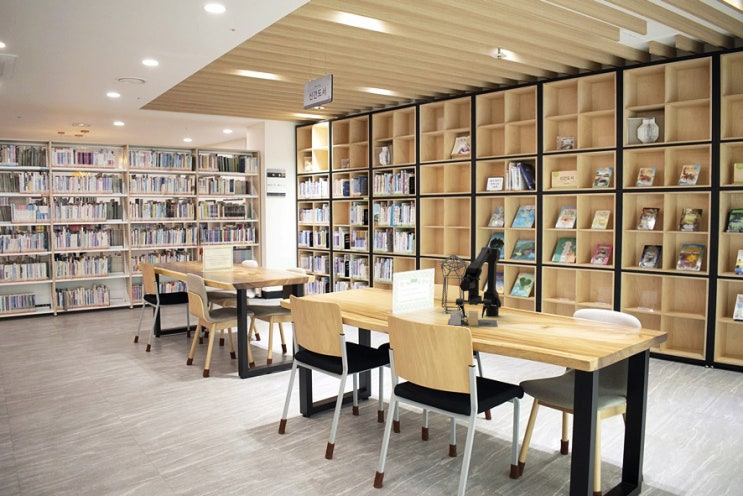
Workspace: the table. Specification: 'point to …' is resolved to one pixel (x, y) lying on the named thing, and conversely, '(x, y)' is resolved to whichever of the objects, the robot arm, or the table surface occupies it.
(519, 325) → the table surface
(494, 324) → the jig board
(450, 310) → the geometric lantern
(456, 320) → the grey block with knob
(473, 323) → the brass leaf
